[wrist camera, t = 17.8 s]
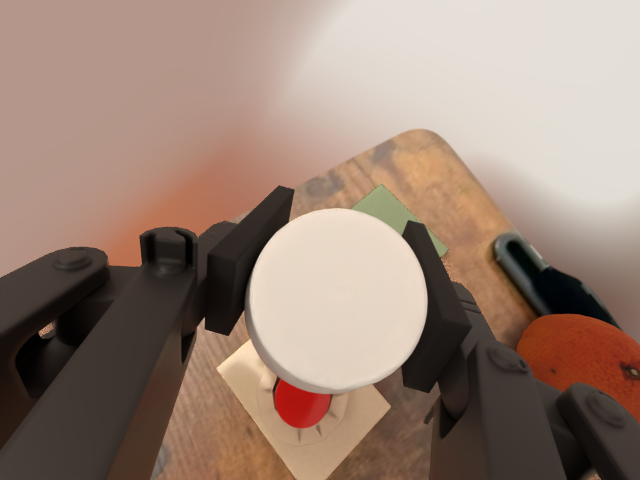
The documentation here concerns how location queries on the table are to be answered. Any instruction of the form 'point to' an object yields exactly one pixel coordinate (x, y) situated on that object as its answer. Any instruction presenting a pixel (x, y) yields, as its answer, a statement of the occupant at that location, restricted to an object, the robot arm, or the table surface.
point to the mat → (392, 213)
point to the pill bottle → (335, 301)
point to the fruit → (584, 356)
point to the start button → (300, 405)
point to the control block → (309, 443)
